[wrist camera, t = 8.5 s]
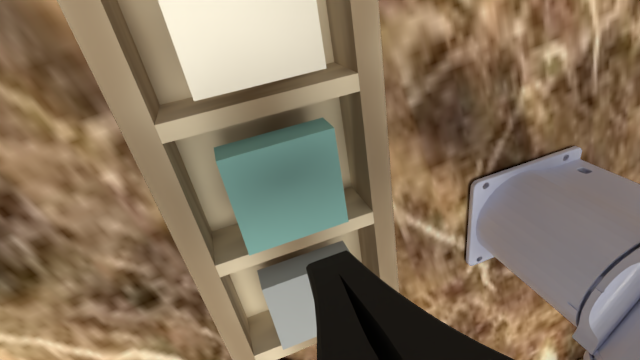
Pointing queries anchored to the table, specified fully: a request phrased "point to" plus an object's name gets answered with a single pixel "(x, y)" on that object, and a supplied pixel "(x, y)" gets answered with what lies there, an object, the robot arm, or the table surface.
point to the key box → (237, 124)
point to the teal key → (284, 184)
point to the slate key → (293, 295)
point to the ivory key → (243, 42)
